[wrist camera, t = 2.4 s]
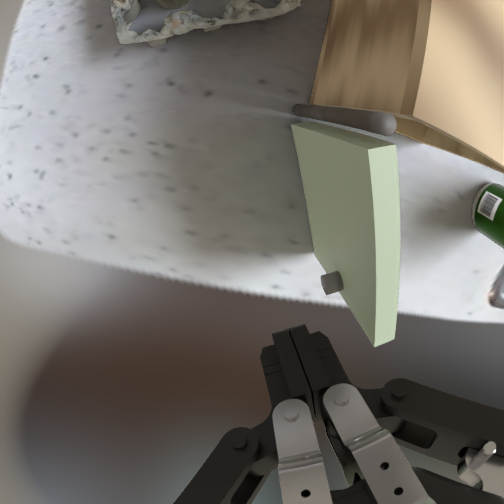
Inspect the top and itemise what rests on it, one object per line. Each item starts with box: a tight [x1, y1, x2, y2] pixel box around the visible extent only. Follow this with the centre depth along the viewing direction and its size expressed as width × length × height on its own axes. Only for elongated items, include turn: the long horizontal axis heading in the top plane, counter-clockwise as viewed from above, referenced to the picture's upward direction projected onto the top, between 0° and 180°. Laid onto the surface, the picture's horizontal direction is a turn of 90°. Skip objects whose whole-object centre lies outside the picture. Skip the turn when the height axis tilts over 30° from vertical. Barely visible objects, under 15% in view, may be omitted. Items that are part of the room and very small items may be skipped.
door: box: [291, 121, 400, 347], centre depth 16 cm, size 2×10×10 cm, turn 13°
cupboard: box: [293, 0, 504, 173], centre depth 12 cm, size 11×11×11 cm
